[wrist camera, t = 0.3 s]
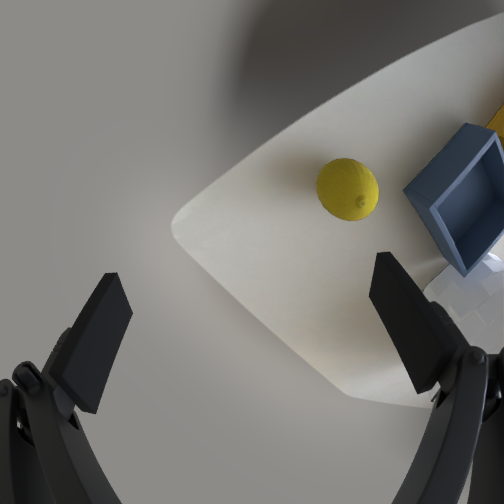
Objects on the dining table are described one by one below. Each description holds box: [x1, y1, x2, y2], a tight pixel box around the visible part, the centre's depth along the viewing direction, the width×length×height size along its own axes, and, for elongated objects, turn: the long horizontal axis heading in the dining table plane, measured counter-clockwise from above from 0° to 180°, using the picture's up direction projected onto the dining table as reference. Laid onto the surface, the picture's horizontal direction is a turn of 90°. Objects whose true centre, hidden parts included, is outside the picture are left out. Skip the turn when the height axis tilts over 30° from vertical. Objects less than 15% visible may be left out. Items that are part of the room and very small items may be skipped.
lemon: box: [316, 158, 379, 221], centre depth 24 cm, size 6×6×8 cm
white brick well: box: [423, 252, 504, 403], centre depth 30 cm, size 25×24×19 cm
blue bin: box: [403, 123, 504, 278], centre depth 26 cm, size 14×14×6 cm
